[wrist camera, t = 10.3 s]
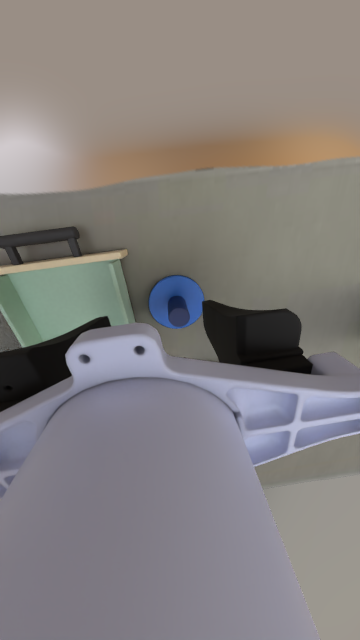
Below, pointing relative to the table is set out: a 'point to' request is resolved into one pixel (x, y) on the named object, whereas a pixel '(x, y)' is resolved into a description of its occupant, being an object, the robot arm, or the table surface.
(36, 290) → the wooden drawer
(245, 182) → the table surface
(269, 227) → the table surface
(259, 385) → the robot arm
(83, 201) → the table surface
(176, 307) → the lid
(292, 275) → the table surface
